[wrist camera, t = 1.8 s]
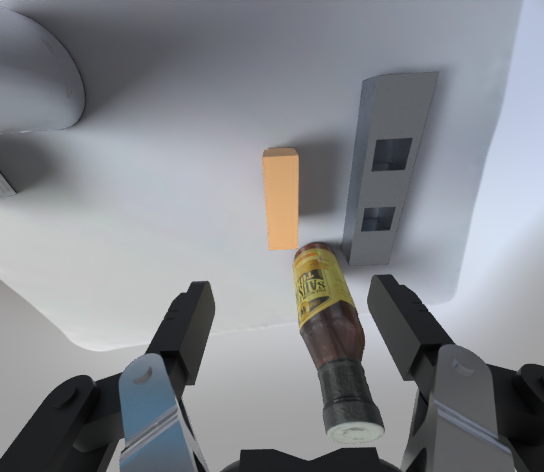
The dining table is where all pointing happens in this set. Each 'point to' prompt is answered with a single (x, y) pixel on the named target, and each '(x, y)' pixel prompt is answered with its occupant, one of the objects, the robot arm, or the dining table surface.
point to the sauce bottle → (335, 346)
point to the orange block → (281, 197)
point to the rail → (385, 176)
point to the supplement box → (5, 188)
